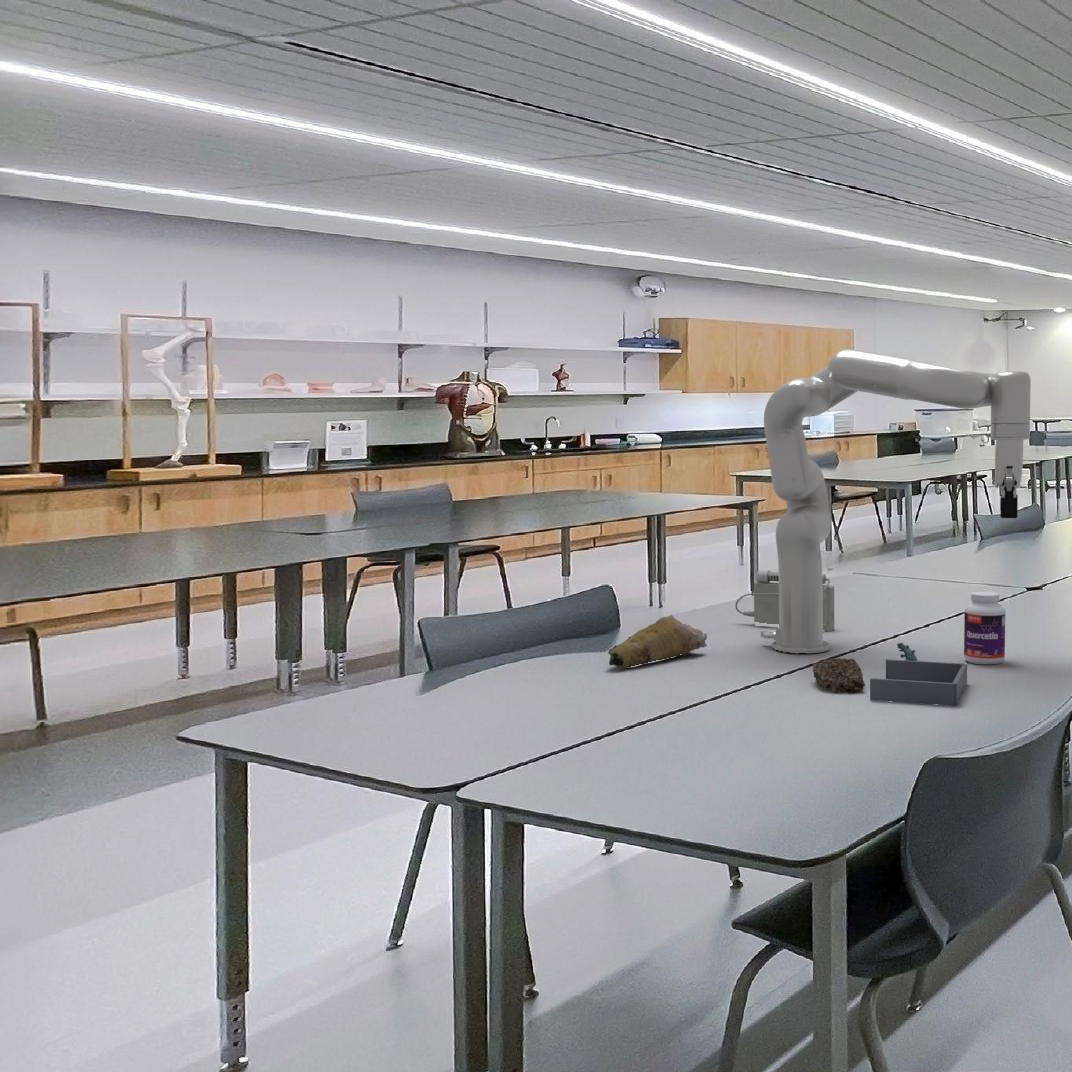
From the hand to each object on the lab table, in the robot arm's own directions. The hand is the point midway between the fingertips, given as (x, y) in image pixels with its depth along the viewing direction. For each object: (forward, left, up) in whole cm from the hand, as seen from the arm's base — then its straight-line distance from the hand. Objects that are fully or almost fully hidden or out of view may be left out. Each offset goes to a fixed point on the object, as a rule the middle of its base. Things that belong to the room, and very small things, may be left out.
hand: (1009, 515), depth 257 cm
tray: (-13, -33, -31) cm, 47 cm away
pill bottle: (-4, -2, -31) cm, 31 cm away
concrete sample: (-28, -33, -31) cm, 53 cm away
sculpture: (-18, -13, -31) cm, 38 cm away
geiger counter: (-53, +26, -31) cm, 67 cm away
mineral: (-71, -21, -31) cm, 80 cm away
